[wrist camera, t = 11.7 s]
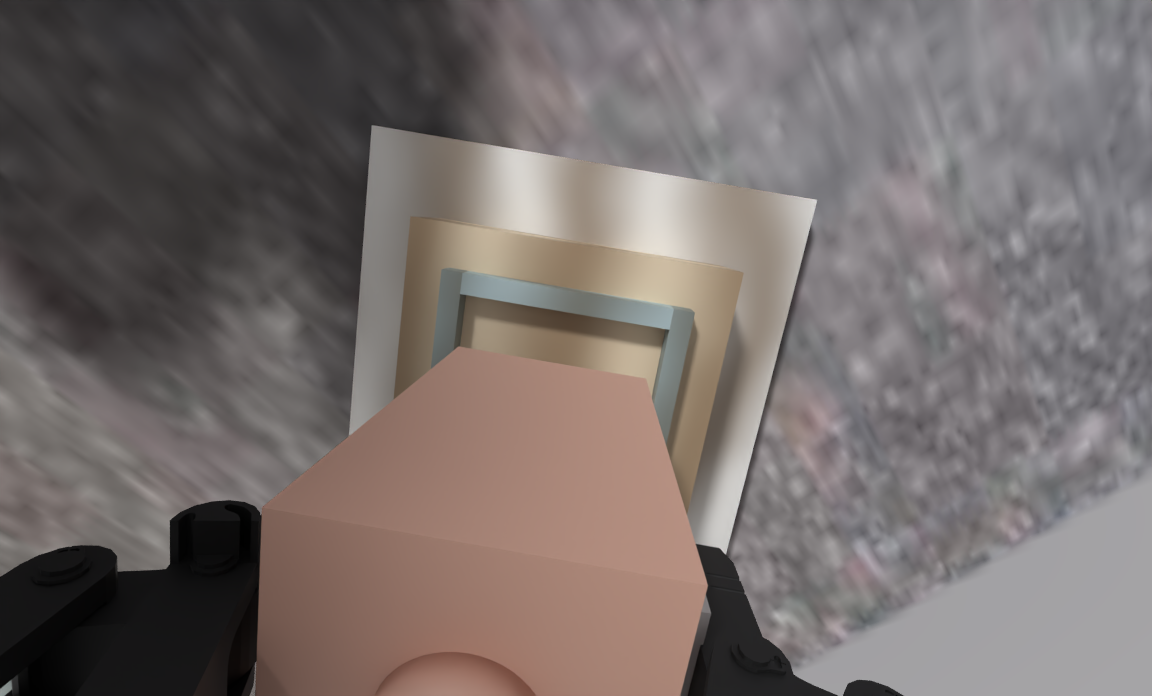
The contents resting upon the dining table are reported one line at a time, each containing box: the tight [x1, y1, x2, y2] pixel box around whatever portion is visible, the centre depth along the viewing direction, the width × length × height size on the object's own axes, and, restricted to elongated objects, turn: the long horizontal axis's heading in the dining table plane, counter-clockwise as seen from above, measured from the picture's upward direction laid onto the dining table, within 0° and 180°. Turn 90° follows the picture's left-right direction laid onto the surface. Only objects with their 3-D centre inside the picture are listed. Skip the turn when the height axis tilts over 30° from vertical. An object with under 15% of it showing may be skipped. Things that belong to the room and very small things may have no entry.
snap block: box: [255, 346, 708, 696], centre depth 12 cm, size 6×6×11 cm
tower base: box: [349, 125, 817, 554], centre depth 24 cm, size 20×20×6 cm
